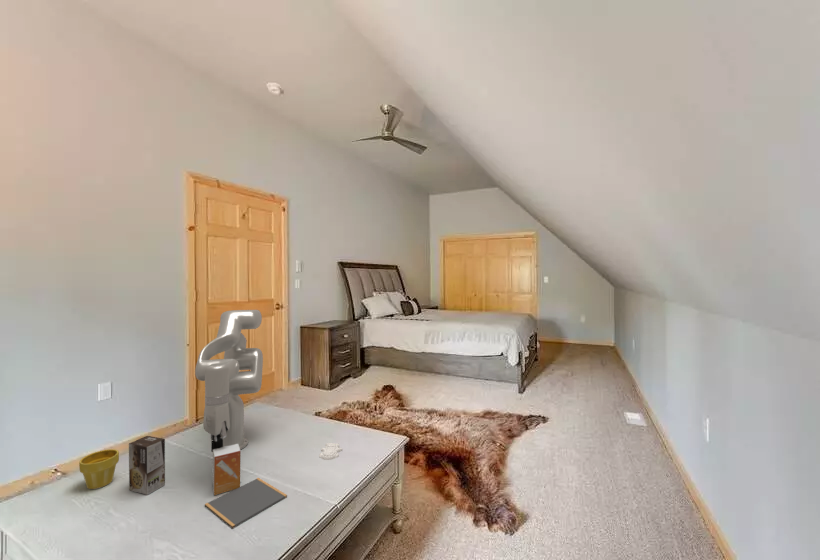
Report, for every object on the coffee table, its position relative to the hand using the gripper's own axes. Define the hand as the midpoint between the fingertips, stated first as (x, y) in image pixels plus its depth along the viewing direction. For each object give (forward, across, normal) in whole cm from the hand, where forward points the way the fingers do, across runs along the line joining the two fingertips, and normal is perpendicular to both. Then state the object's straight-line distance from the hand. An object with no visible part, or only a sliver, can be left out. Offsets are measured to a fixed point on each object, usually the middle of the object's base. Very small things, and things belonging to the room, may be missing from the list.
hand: (217, 450), depth 123 cm
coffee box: (+11, -16, -16) cm, 25 cm away
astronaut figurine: (+11, +16, +38) cm, 43 cm away
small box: (+11, +6, 0) cm, 13 cm away
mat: (+11, +19, 0) cm, 22 cm away
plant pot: (+11, -32, -25) cm, 42 cm away
